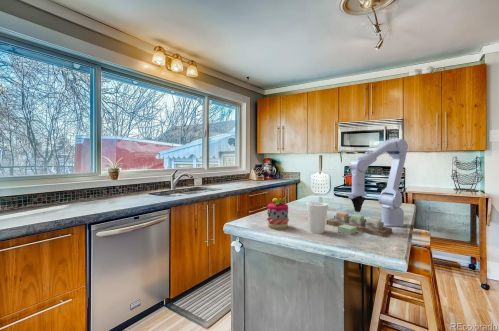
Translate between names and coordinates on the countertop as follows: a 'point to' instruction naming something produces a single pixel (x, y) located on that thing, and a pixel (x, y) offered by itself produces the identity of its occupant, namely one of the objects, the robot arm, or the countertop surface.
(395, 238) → the countertop surface
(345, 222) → the button console
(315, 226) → the foam cup
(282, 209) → the cake
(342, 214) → the terracotta button
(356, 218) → the sage button
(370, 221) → the cream button
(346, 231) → the block
